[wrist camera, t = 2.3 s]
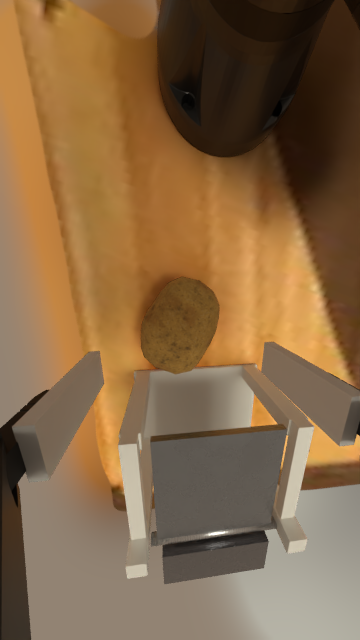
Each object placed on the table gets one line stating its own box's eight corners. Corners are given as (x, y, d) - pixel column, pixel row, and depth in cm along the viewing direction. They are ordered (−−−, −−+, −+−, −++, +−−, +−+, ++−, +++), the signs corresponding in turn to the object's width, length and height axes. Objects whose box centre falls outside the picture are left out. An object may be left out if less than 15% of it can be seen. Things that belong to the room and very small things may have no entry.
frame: (134, 370, 27) (103, 467, 13) (255, 363, 28) (338, 442, 15) (142, 457, 31) (125, 596, 18) (246, 447, 33) (304, 566, 19)
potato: (132, 345, 26) (121, 369, 19) (166, 266, 23) (167, 261, 17) (186, 366, 27) (193, 394, 21) (223, 294, 25) (245, 300, 18)
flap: (146, 413, 18) (141, 450, 14) (272, 403, 19) (299, 435, 15) (155, 534, 23) (153, 585, 19) (255, 520, 24) (273, 566, 20)
